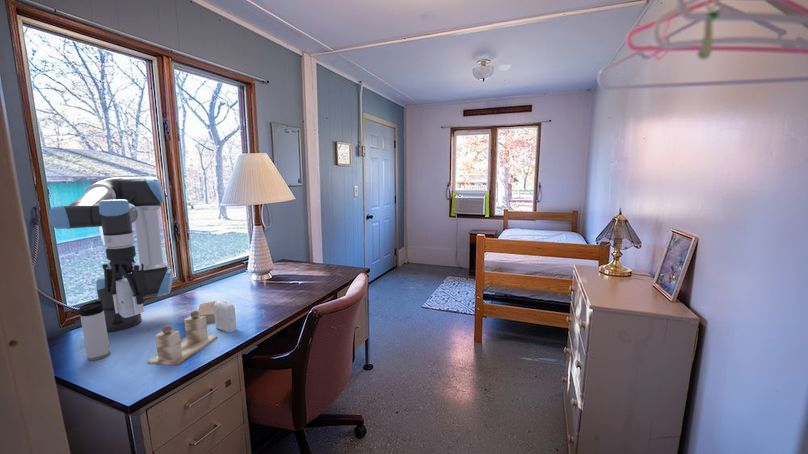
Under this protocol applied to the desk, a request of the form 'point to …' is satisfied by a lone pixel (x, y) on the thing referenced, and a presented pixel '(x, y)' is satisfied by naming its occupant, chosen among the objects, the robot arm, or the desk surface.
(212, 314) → the brick
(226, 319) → the photo printer
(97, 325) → the travel mug
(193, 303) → the desk surface
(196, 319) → the posts
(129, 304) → the skincare box
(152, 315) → the desk surface
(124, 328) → the robot arm
